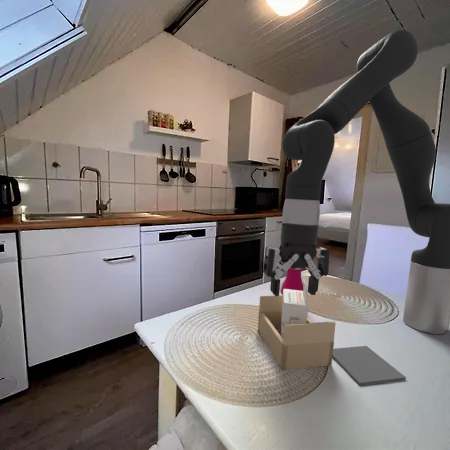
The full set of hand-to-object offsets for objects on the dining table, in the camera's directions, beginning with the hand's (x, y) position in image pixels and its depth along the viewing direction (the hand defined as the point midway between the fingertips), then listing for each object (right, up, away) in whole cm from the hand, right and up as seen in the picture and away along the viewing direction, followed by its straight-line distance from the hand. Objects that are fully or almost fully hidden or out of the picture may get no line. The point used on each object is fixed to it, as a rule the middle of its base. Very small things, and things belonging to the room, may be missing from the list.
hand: (293, 294), depth 55 cm
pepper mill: (+6, -10, +23) cm, 25 cm away
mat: (+13, -13, -4) cm, 19 cm away
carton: (0, -12, +1) cm, 12 cm away
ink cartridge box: (0, -12, +1) cm, 12 cm away
